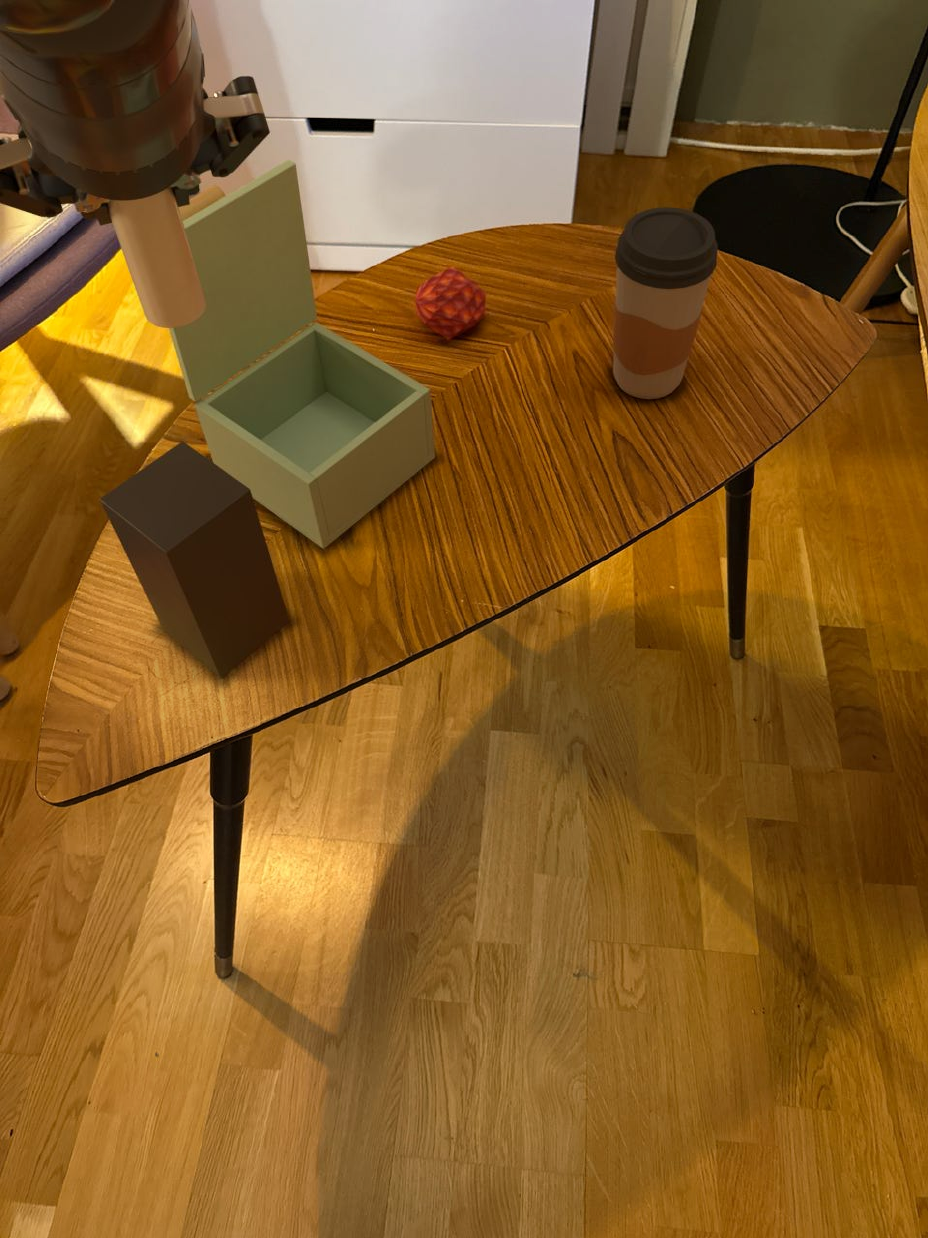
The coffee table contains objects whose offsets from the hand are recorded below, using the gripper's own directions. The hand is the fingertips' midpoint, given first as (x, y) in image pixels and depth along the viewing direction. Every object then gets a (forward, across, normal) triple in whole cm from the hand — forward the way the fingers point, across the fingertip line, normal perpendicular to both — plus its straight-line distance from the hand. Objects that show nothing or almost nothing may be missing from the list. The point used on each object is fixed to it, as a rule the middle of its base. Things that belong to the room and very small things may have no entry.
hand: (138, 196), depth 54 cm
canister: (+3, 0, +6) cm, 6 cm away
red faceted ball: (+38, -25, +8) cm, 46 cm away
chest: (+28, -8, +17) cm, 34 cm away
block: (+19, +4, +26) cm, 33 cm away
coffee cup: (+28, -39, +18) cm, 51 cm away
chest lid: (+21, -6, +2) cm, 22 cm away
